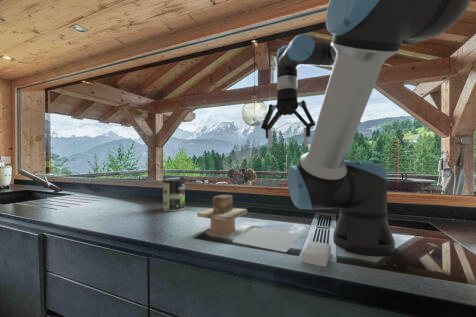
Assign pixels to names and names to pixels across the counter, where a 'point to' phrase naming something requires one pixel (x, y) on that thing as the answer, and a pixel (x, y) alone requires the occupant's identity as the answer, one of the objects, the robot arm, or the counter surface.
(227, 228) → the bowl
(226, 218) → the lid
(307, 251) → the soap
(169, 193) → the coffee can
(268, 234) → the mat
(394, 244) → the robot arm
